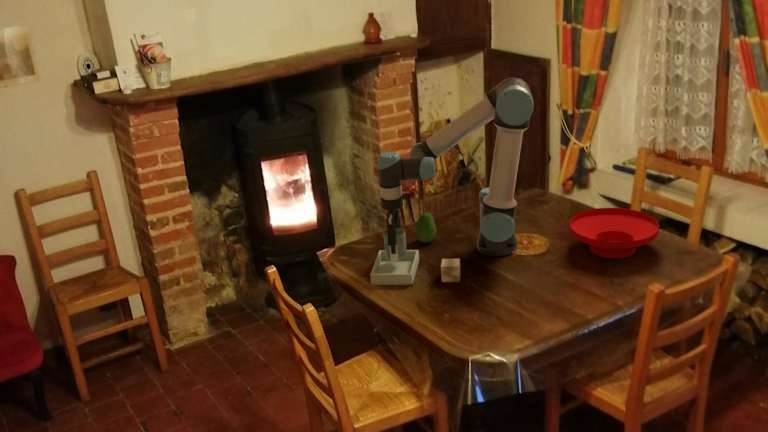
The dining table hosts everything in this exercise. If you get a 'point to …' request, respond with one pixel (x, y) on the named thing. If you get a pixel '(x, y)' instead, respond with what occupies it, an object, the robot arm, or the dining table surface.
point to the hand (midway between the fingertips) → (396, 255)
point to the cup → (399, 240)
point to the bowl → (614, 230)
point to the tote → (395, 269)
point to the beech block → (450, 270)
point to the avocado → (425, 228)
